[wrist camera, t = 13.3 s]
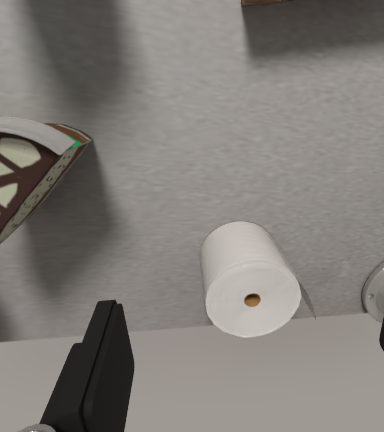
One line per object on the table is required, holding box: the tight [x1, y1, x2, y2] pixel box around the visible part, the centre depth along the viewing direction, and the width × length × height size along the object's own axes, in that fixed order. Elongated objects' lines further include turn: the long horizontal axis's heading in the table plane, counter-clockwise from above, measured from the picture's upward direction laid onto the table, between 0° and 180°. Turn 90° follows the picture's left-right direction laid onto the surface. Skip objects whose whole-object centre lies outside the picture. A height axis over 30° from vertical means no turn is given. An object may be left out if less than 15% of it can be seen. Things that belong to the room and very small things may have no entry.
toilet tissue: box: [200, 221, 316, 338], centre depth 39 cm, size 11×12×10 cm
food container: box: [0, 117, 93, 244], centre depth 31 cm, size 16×8×13 cm, turn 137°
